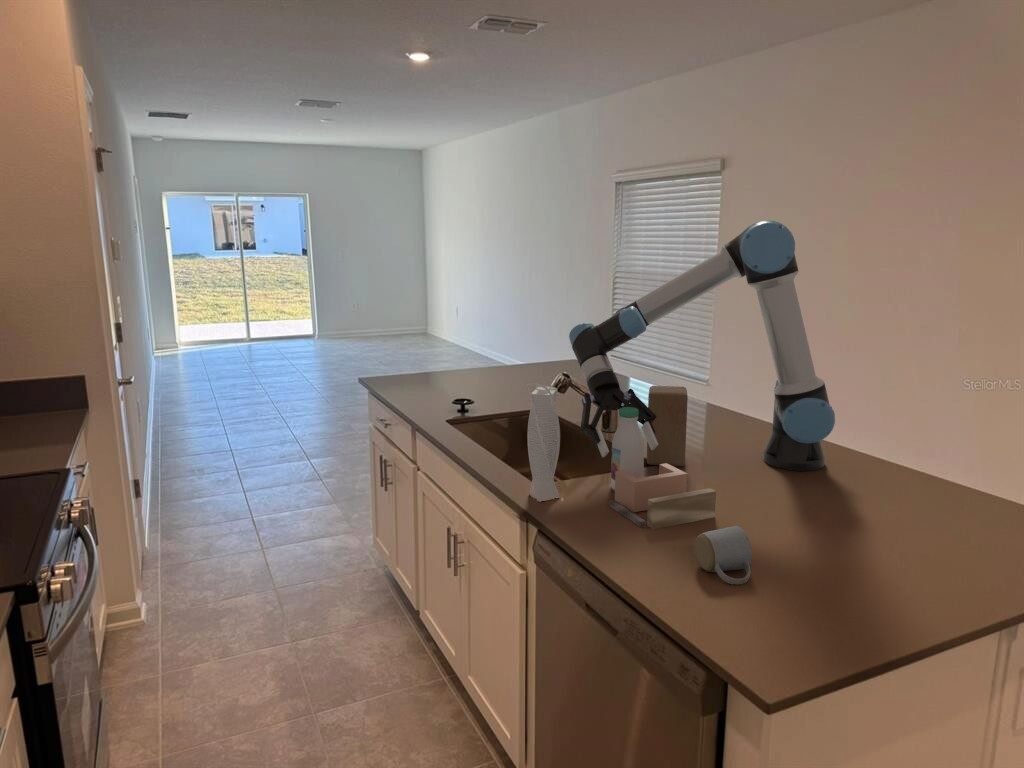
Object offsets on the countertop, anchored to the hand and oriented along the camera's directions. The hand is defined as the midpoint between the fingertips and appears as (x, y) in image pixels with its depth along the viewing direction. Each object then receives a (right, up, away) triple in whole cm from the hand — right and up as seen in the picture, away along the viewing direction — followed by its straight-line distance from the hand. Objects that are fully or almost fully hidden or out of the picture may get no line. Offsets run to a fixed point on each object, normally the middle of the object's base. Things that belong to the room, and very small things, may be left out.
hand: (630, 451), depth 165 cm
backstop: (+6, -12, -10) cm, 17 cm away
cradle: (+4, -11, -6) cm, 13 cm away
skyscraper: (-21, -11, -1) cm, 24 cm away
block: (+14, -5, +24) cm, 28 cm away
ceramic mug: (+11, -19, -38) cm, 44 cm away
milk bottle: (0, -10, +4) cm, 10 cm away
